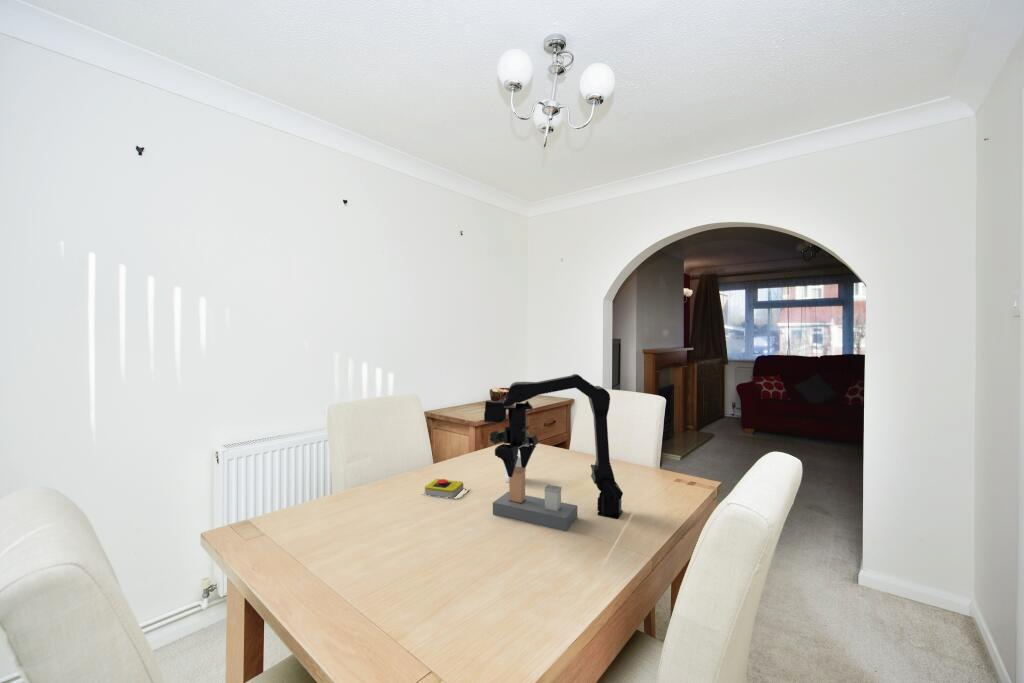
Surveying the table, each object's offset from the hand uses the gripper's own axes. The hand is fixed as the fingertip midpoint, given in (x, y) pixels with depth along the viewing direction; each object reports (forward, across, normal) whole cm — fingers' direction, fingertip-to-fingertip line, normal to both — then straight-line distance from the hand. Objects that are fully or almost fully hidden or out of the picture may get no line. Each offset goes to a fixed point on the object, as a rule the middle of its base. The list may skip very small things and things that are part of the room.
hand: (517, 472), depth 136 cm
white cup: (+13, -25, -14) cm, 31 cm away
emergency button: (+14, -4, -30) cm, 33 cm away
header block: (+13, 0, +6) cm, 14 cm away
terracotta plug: (+9, 0, 0) cm, 9 cm away
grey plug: (+13, 0, +12) cm, 17 cm away
